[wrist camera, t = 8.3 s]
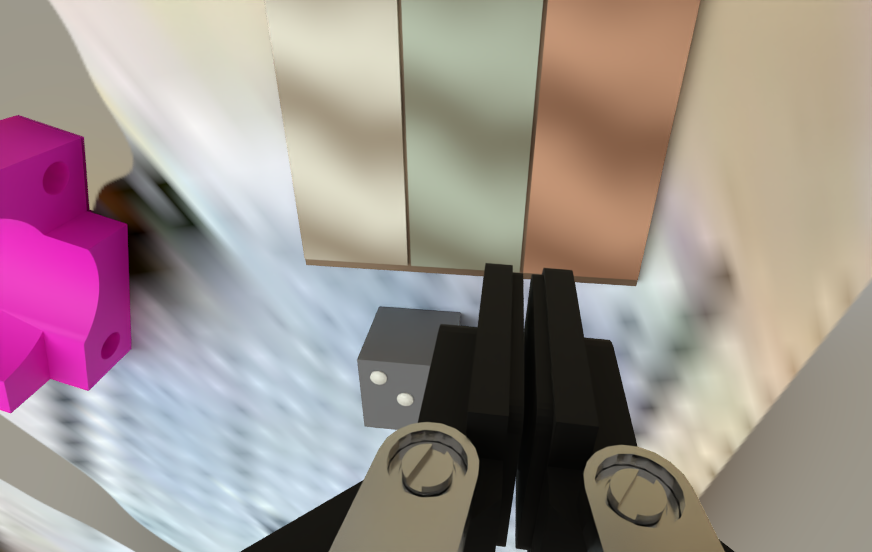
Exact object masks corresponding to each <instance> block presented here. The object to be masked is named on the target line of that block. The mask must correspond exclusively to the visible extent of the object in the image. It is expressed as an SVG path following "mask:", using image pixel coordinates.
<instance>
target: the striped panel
mask: <svg viewBox="0 0 872 552" xmlns="http://www.w3.org/2000/svg"><path fill="white" fill-rule="evenodd" d="M264 3H265V9H266V16H267V22H268V28H269V35H270V41H271V47H272V54H273V60H274V67H275V73H276V79H277V86H278V92H279V98H280V105H281V111H282V118H283V124H284V130H285V137H286V143H287V149H288V156H289V162H290V168H291V175H292V181H293V188H294V194H295V200H296V207H297V213H298V219H299V226H300V232H301V238H302V245H303V251H304V258H305V260H306V265H316V266H332V267H347V268H363V269H378V270H394V271H409V272H425V273H441V274H456V275H472V276H484V270H485V263H493V264H505V265H513V272H514V273H523V279H531V276H532V274H538V275H542V271H543V268H554V269H566V270H572V271H573V275H574V281H575V282H580V283H596V284H611V285H627V286H636V285H637V280H638V276H639V272H640V268H641V263H642V259H643V254H644V250H645V245H646V241H647V236H648V232H649V227H650V223H651V219H652V214H653V210H654V205H655V201H656V196H657V192H658V187H659V183H660V178H661V174H662V170H663V165H664V161H665V156H666V152H667V147H668V143H669V138H670V134H671V129H672V125H673V120H674V116H675V112H676V107H677V103H678V98H679V94H680V89H681V85H682V80H683V76H684V71H685V67H686V63H687V58H688V54H689V49H690V45H691V40H692V36H693V31H694V27H695V22H696V18H697V14H698V9H699V5H700V0H264Z"/></svg>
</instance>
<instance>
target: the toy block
mask: <svg viewBox="0 0 872 552" xmlns="http://www.w3.org/2000/svg"><path fill="white" fill-rule="evenodd" d="M92 211H93V210H90V208H89V196H88V182H87V169H86V156H85V143H84V137H83V136H80V135H77V134H74V133H71V132H68V131H65V130H62V129H59V128H56V127H53V126H50V125H47V124H44V123H41V122H38V121H35V120H32V119H29V118H26V117H23V116H20V115H16V116H13V117H9V118H6V119H3V120H0V410H2V411H5V412H8V413H12V412H13V411H14V410H15V409H16V408H18V407H19V406H20V405H21V404H22V403H23V402H24V401H26V400H27V399H28V398H29V397H30V396H31V395H32V394H34V393H35V392H36V391H37V390H38V389H39V388H40V387H42V386H43V385H44V384H45V383H46V382H47V381H48V380H50V379H53V380H56V381H59V382H62V383H65V384H68V385H71V386H75V387H78V388H81V389H84V390H87V391H89V390H90V389H91V388H92V387H93V386H94V385H95V384H96V383H97V382H98V381H99V380H100V379H101V378H102V377H103V376H104V375H105V374H106V373H107V372H108V371H109V370H110V369H111V368H112V367H113V366H114V365H115V364H116V363H117V362H118V361H119V360H120V359H121V358H123V357H124V356H125V355H126V354H127V353H128V352H129V351H130V350H131V323H130V292H129V262H128V231H127V224H125V223H122V222H119V221H116V220H113V219H110V218H107V217H104V216H101V215H98V214H95V213H92Z"/></svg>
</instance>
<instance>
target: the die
mask: <svg viewBox="0 0 872 552" xmlns="http://www.w3.org/2000/svg"><path fill="white" fill-rule="evenodd" d="M440 324H448V325H458V326H460V313H458V312H444V311H431V310H417V309H403V308H390V307H379V308H378V311H377V313H376V315H375V318H374V320H373V323H372V325H371V327H370V330H369V332H368V335H367V337H366V339H365V342H364V344H363V347H362V349H361V352H360V354H359V356H358V359H357V362H358V371H359V380H360V389H361V398H362V407H363V416H364V425H365V426H366V427H375V428H385V429H395V430H398V429H400V428H403V427H405V426H408V425H410V424H415V423H418V419H419V414H420V410H421V405H422V401H423V397H424V392H425V388H426V383H427V379H428V374H429V370H430V366H431V361H432V357H433V352H434V348H435V343H436V339H437V334H438V330H439V327H440Z"/></svg>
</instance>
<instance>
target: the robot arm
mask: <svg viewBox="0 0 872 552" xmlns="http://www.w3.org/2000/svg"><path fill="white" fill-rule="evenodd" d="M515 479H516V529H515V544H516V549H524V550H527V552H734V551H733V550H732V549H730V548H729V547H728V546H727V545H725V544H724V543H723V542H722V541H720V540H719V539H718V537H717V535H716V533H715V531H714V529H713V527H712V525H711V523H710V521H709V519H708V517H707V515H706V513H705V511H704V509H703V507H702V505H701V503H700V501H699V499H698V497H697V495H696V493H695V491H694V489H693V487H692V486H691V484H690V483H689V481H688V480H687V479H686V477H685V476H684V474H683V473H682V472H681V471H680V470H679V469H677V468H676V467H675V466H674V465H673V464H672V463H671V462H670V461H668V460H666V459H665V458H663V457H661V456H659V455H658V454H656V453H654V452H651V451H649V450H646V449H643V448H640V447H637V443H636V439H635V434H634V430H633V426H632V422H631V418H630V414H629V410H628V405H627V401H626V397H625V393H624V389H623V385H622V380H621V376H620V372H619V368H618V364H617V360H616V356H615V351H614V347H613V345H612V342H611V341H610V340H604V339H594V338H584V334H583V328H582V322H581V316H580V310H579V304H578V298H577V293H576V287H575V281H574V275H573V271H572V270H566V269H554V268H543V271H542V275H538V274H532V276H531V282H530V289H529V297H528V305H527V313H526V320H525V328H524V295H523V273H514V272H513V265H505V264H493V263H485V270H484V278H483V287H482V295H481V303H480V312H479V320H478V327H469V326H458V325H448V324H440V327H439V330H438V334H437V339H436V343H435V348H434V352H433V357H432V361H431V366H430V370H429V374H428V379H427V383H426V388H425V392H424V397H423V401H422V405H421V410H420V414H419V419H418V423H415V424H410V425H408V426H405V427H403V428H400V429H398V430H397V431H395V432H394V433H393V434H391V435H390V436H389V437H387V438H386V440H385V441H384V443H383V444H382V445H381V447H380V448H379V450H378V452H377V454H376V456H375V458H374V460H373V462H372V464H371V466H370V468H369V470H368V472H367V474H366V476H365V479H364V480H363V481H361V482H359V483H358V484H356V485H354V486H352V487H351V488H349V489H347V490H345V491H344V492H342V493H340V494H339V495H337V496H335V497H333V498H332V499H330V500H328V501H327V502H325V503H323V504H321V505H320V506H318V507H316V508H315V509H313V510H311V511H309V512H308V513H306V514H304V515H302V516H301V517H299V518H297V519H296V520H294V521H292V522H290V523H289V524H287V525H285V526H284V527H282V528H280V529H278V530H277V531H275V532H273V533H272V534H270V535H268V536H266V537H265V538H263V539H261V540H259V541H258V542H256V543H254V544H253V545H251V546H249V547H247V548H246V549H244V550H242V551H241V552H495V549H496V546H502V547H506V541H507V534H508V527H509V520H510V513H511V507H512V500H513V493H514V486H515Z"/></svg>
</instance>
